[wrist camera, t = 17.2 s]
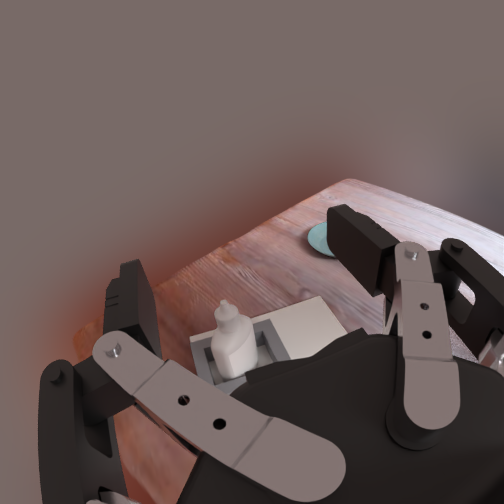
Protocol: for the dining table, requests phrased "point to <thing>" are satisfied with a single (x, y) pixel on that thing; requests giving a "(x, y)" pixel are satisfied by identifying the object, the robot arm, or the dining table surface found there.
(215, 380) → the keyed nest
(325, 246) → the saucer
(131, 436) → the dining table surface
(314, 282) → the dining table surface
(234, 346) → the eye dropper bottle
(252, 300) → the dining table surface
